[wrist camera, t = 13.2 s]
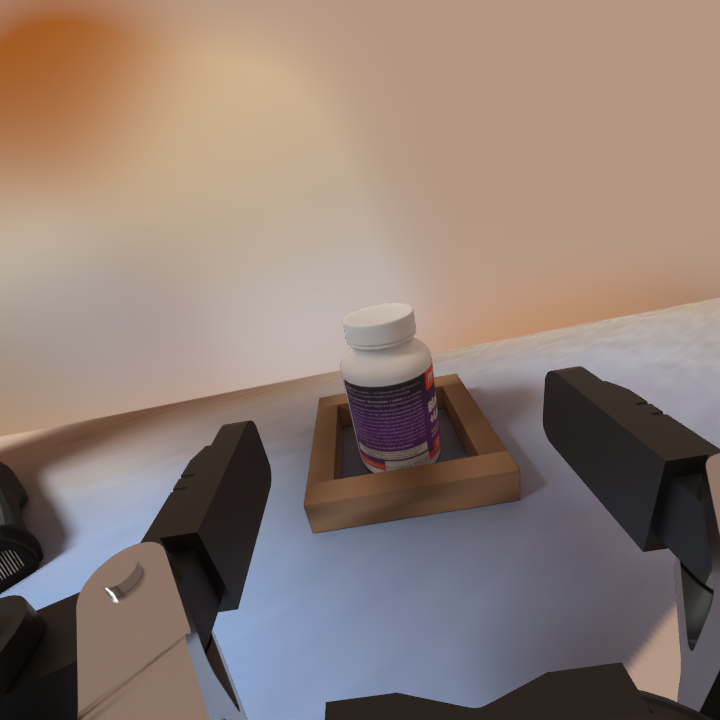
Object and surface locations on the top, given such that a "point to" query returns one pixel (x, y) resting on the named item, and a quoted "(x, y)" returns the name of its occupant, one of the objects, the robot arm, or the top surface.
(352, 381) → the pill bottle
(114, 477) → the top surface
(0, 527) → the electric trimmer
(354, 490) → the socket block
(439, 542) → the top surface
